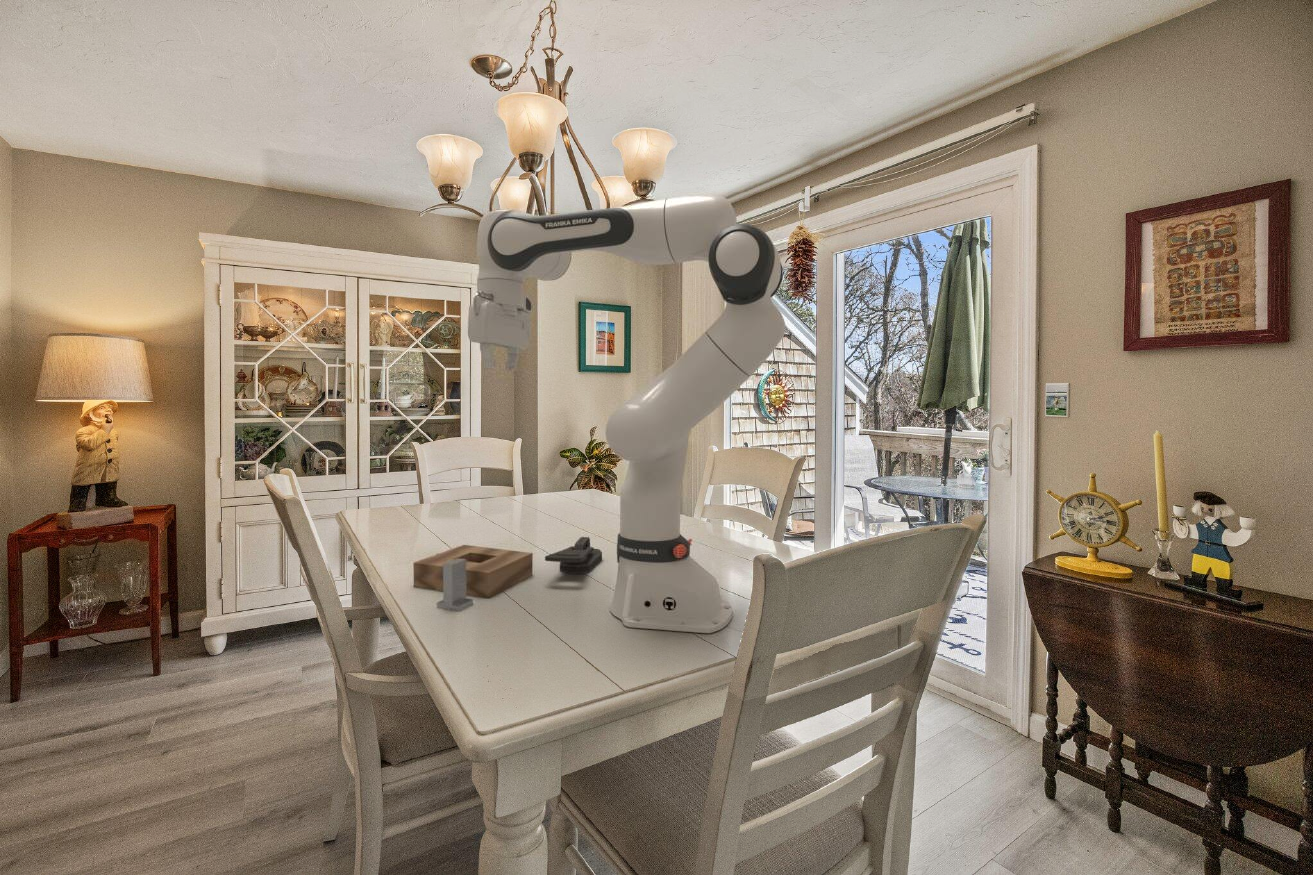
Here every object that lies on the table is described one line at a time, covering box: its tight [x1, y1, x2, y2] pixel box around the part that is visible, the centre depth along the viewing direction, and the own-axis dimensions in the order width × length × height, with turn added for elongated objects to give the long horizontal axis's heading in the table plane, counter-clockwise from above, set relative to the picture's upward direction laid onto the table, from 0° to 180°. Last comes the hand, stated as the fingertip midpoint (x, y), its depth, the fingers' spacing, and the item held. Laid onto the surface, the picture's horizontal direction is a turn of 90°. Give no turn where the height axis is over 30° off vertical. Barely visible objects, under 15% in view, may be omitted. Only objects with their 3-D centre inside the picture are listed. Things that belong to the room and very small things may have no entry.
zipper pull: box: [544, 536, 603, 575], centre depth 137 cm, size 9×7×25 cm
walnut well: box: [413, 544, 534, 599], centre depth 128 cm, size 18×16×5 cm
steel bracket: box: [436, 558, 474, 612], centre depth 113 cm, size 5×4×8 cm
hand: (500, 369), depth 119 cm, fingers open, 8 cm apart
